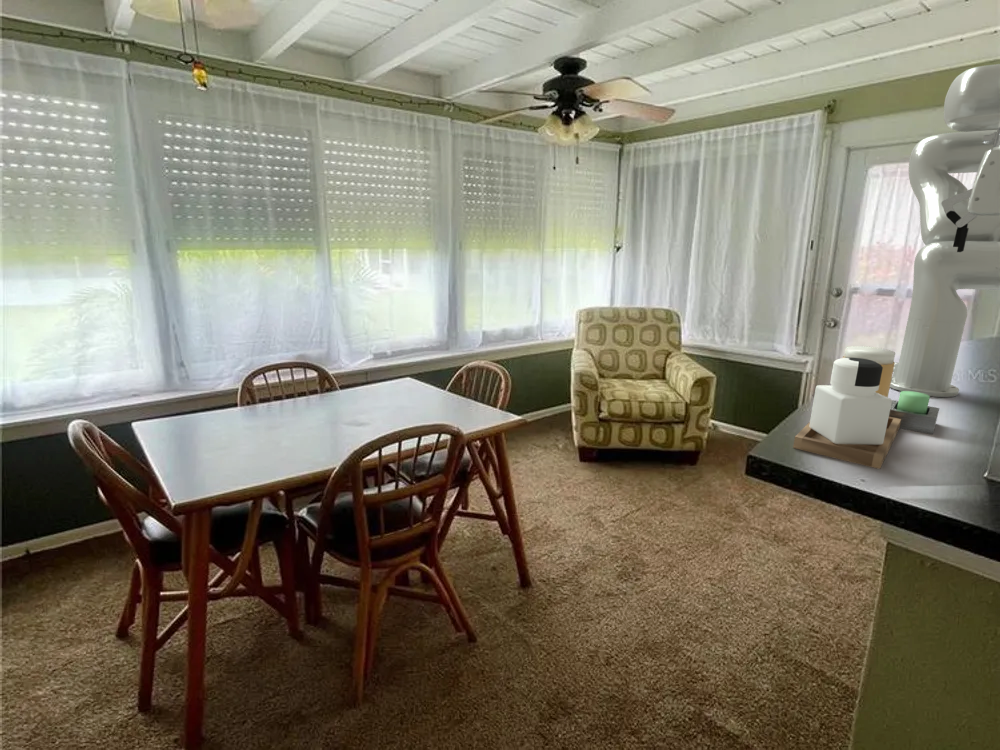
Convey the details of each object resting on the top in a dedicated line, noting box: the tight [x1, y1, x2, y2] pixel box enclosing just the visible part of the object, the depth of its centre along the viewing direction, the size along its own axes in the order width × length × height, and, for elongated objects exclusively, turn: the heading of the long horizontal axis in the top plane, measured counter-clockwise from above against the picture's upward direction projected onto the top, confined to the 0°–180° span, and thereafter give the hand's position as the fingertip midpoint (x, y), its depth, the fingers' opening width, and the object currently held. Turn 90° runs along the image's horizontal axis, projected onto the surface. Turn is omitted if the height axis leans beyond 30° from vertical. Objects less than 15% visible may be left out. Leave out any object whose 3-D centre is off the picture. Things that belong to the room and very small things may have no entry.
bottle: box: [842, 345, 896, 398], centre depth 86 cm, size 7×7×14 cm
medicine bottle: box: [809, 357, 893, 445], centre depth 78 cm, size 7×7×12 cm
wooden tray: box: [792, 417, 901, 470], centre depth 84 cm, size 21×11×3 cm, turn 138°
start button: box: [897, 391, 931, 414], centre depth 90 cm, size 4×4×4 cm
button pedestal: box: [889, 399, 940, 435], centre depth 90 cm, size 7×7×4 cm
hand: (998, 252), depth 85 cm, fingers open, 9 cm apart
